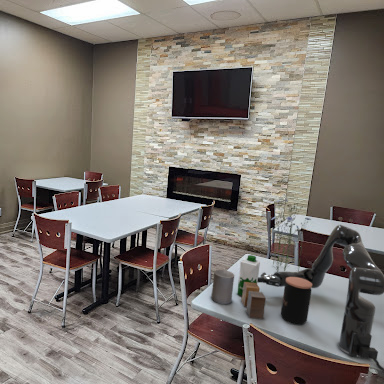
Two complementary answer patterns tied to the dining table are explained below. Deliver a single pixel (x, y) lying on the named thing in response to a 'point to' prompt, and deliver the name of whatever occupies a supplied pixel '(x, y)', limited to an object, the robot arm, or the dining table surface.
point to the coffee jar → (296, 300)
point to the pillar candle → (222, 286)
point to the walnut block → (256, 304)
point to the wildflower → (287, 235)
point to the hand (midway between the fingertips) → (256, 280)
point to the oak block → (246, 289)
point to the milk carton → (248, 272)
